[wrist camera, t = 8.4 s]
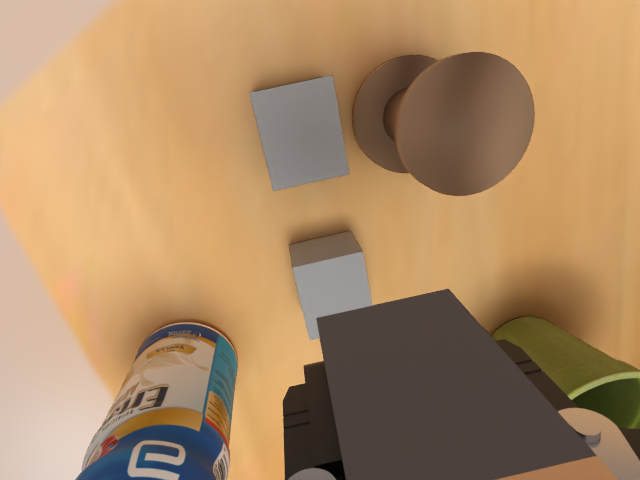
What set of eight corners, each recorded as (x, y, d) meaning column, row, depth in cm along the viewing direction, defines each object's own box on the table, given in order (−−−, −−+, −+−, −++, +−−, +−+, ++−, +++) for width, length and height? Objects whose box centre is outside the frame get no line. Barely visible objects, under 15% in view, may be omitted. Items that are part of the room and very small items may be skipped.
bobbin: (454, 45, 29) (543, 24, 20) (462, 158, 32) (543, 186, 22) (343, 68, 29) (380, 59, 19) (361, 180, 31) (401, 219, 22)
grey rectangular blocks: (322, 77, 29) (332, 75, 24) (362, 296, 35) (375, 324, 31) (252, 92, 28) (249, 93, 24) (304, 309, 35) (309, 340, 30)
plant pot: (526, 267, 36) (633, 341, 25) (600, 336, 39) (721, 426, 29) (431, 360, 38) (493, 464, 28) (510, 418, 42) (591, 529, 31)
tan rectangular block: (448, 288, 12) (650, 515, 6) (457, 396, 14) (628, 677, 7) (316, 318, 12) (365, 584, 6) (339, 423, 13) (400, 736, 7)
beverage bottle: (199, 416, 37) (130, 747, 18) (116, 368, 34) (-63, 699, 16) (260, 353, 36) (252, 644, 17) (177, 298, 33) (60, 571, 14)
